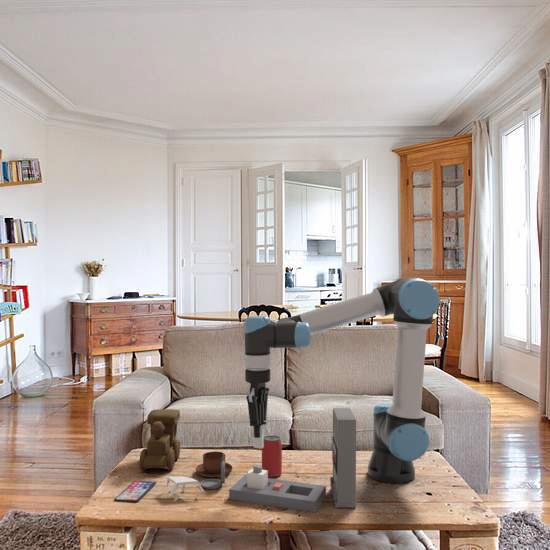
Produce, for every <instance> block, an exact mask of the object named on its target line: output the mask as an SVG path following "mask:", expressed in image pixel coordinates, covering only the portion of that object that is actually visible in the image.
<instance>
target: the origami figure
mask: <svg viewBox="0 0 550 550" xmlns="http://www.w3.org/2000/svg"><path fill="white" fill-rule="evenodd" d="M170 482H172V483H174V485H175V486H174V488H173V489H171V487H170V486H169V485H170ZM193 484H194V485H195V484H197V485H198V487H199V489H200V491H199V492H198V493H197V494H196V495H195V496H196V497H195V498H196V499H197V500H199V495H200V494H202V493H204V491H205V490H204V489H203V487H202V486H201V482H199V481H198V480H197V479H195V478H191V477H187V476H184V475H183V476H167V481H166V487H167V489H168V490H169V492H168V493H170V495H173V496H174V497H175V498H174V499H173V502H175V501H177V500H178V499H179V498H180V495H179V494H177V493H176V491H177V489H178V488H179V486H181V485H182V491H181V493H185V488H186V487H185V486H186V485H193Z"/></svg>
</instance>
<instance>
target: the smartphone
mask: <svg viewBox="0 0 550 550" xmlns="http://www.w3.org/2000/svg"><path fill="white" fill-rule="evenodd" d="M156 485H157V482H156V481H153V480H151V481H149V480H148V481H147V480H134V481H132V482H131V483H130V484H129V485H128V486H127V487H126V488H124V489H123V490H122V491H121V492H120V493H119V494H118V495H117V496H116V497H115V498H114V499H113V501H114V502H118V503H120V502H121V503H133V504H135V503H136V504H138V503H139V502H140V501H141V500H142V499H143V498H144V497H145V496H146V495H147V494H148V493H149V492H150V491H151V490H152V489H153V487H155V486H156Z"/></svg>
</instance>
